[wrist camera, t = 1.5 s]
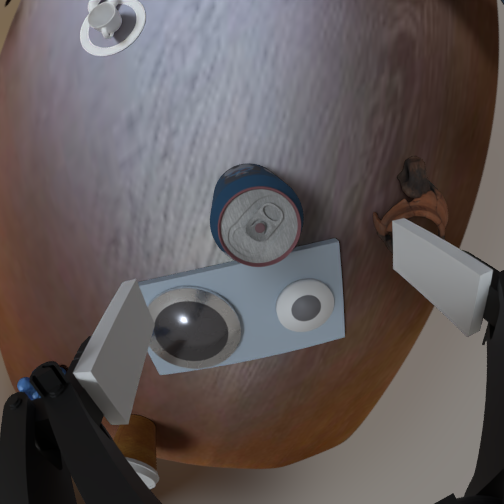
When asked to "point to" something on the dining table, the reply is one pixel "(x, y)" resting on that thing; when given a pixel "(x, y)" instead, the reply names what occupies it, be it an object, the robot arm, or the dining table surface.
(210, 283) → the flange board
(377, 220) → the pottery mug
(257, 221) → the soda can
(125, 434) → the disposable coffee cup
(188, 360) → the wide flange
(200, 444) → the dining table surface
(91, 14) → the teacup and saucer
